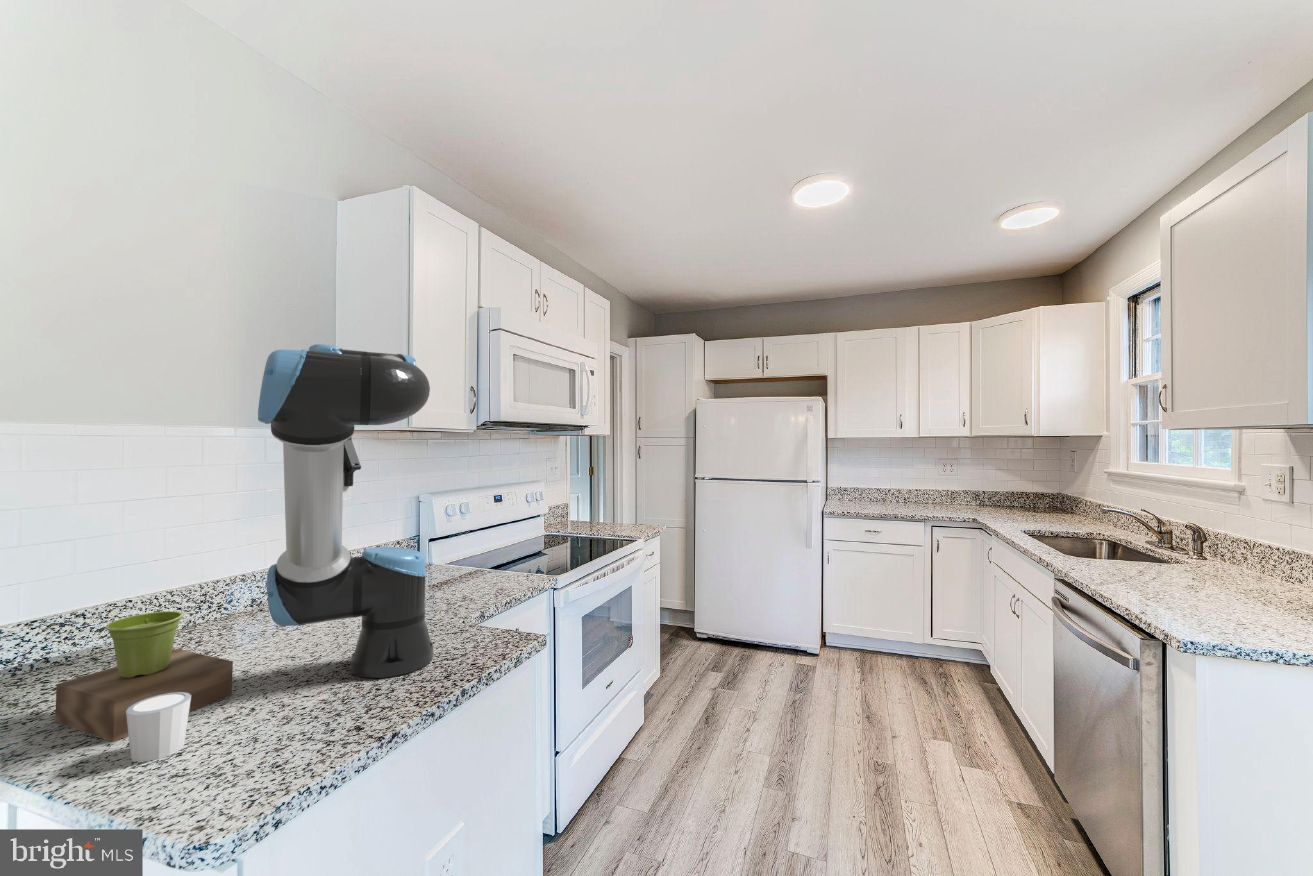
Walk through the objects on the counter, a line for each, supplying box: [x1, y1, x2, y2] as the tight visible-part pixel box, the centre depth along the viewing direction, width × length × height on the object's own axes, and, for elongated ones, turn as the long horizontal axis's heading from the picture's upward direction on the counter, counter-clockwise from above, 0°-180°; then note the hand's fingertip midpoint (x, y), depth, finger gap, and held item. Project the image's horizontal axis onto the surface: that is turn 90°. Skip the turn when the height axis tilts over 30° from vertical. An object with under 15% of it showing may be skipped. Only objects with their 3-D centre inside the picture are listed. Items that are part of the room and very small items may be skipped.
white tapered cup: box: [126, 692, 191, 763], centre depth 76 cm, size 7×7×7 cm
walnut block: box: [54, 648, 234, 743], centre depth 89 cm, size 16×16×6 cm
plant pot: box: [104, 610, 184, 678], centre depth 89 cm, size 9×9×9 cm
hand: (323, 499), depth 125 cm, fingers open, 13 cm apart
